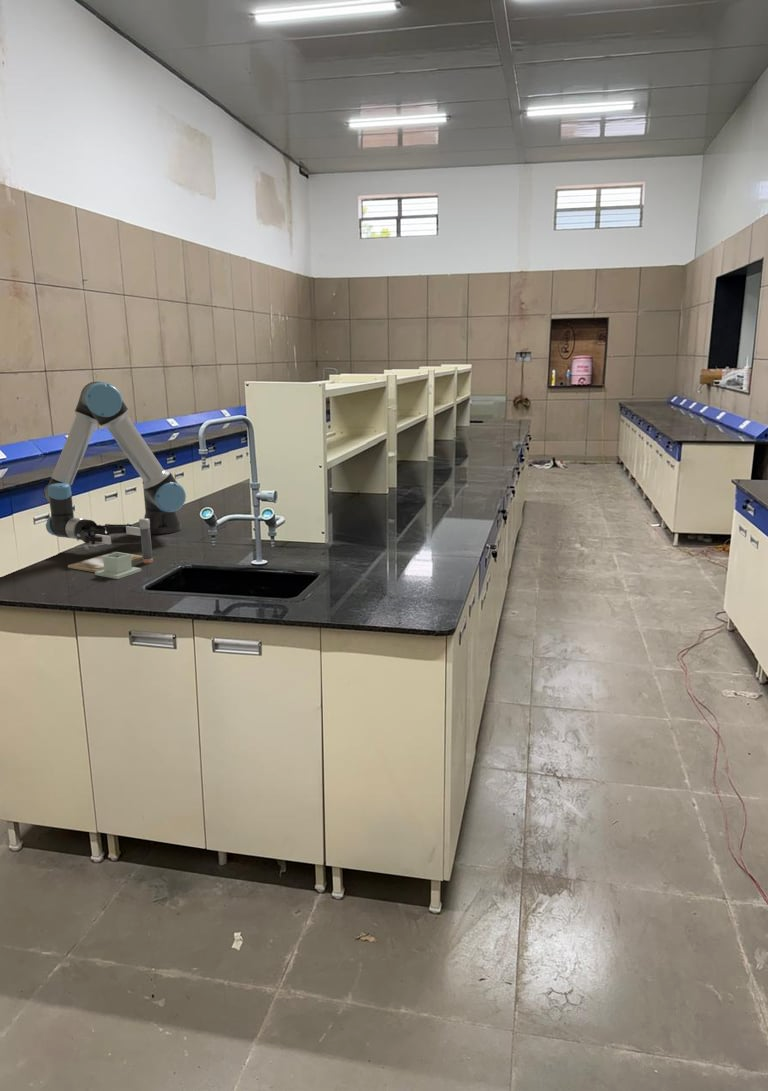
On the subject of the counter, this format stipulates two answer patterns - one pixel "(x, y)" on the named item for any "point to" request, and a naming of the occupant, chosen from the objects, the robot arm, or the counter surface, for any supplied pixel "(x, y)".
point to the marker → (146, 540)
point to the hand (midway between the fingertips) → (125, 536)
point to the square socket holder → (117, 566)
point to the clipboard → (97, 563)
